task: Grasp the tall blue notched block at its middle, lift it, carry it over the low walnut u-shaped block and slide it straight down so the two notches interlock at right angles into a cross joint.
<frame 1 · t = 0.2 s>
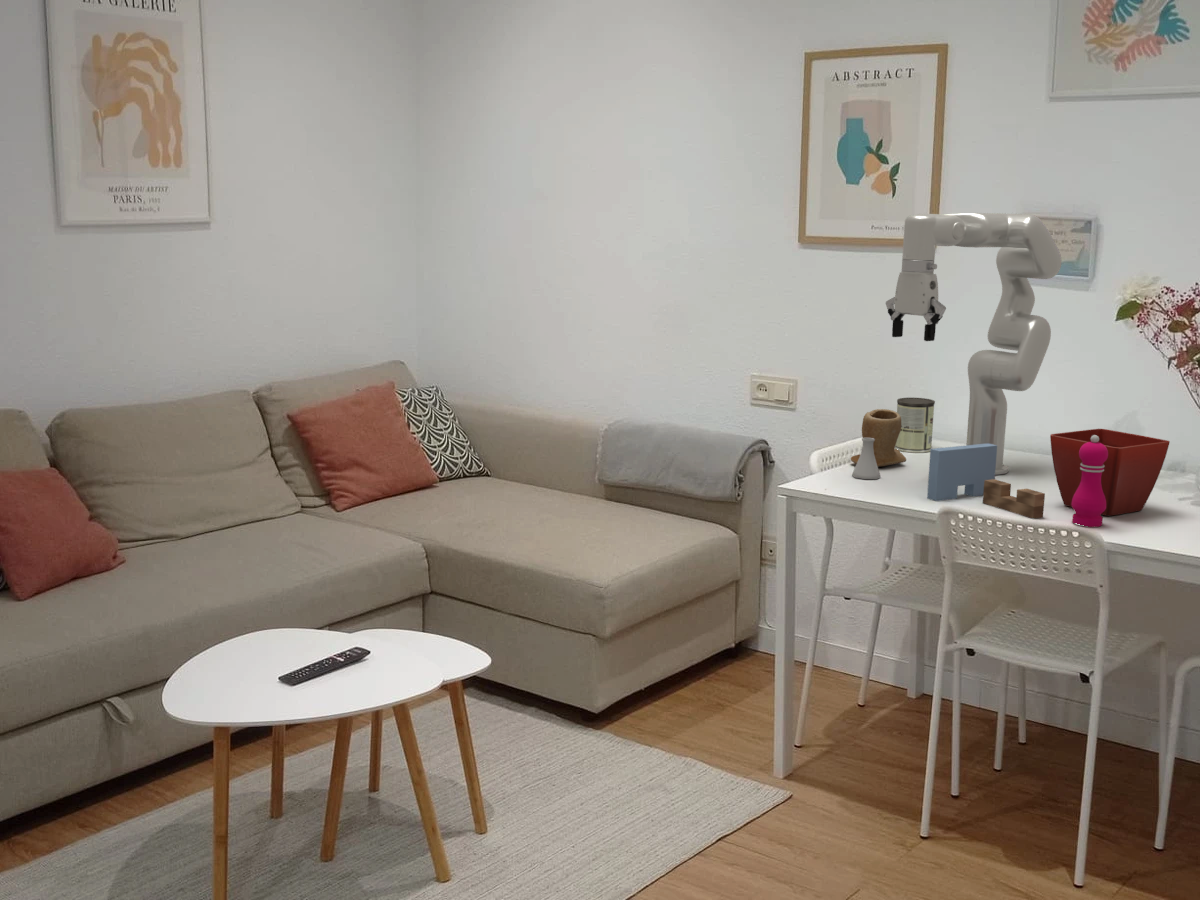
hand: (912, 338, 317), 37 cm above the table, tool pointing down, fingers open, 9 cm apart
pepper mill: (1087, 524, 290), on the table
stone cup: (881, 466, 348), on the table
flask: (866, 478, 334), on the table
plant pot: (1102, 509, 305), on the table
walnut u-shaped block: (1012, 510, 302), on the table
blue notched block: (960, 496, 315), on the table
coffee can: (912, 450, 371), on the table
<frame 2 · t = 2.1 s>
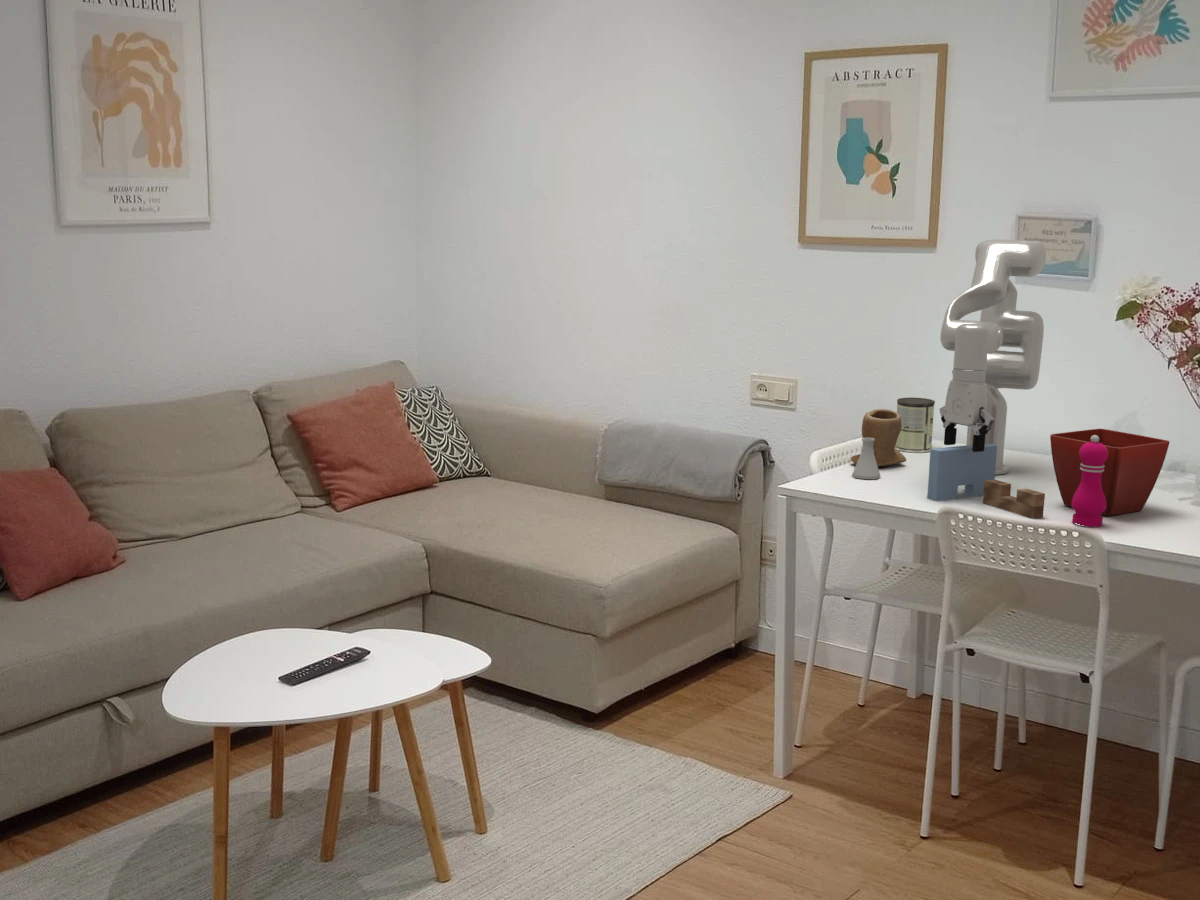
hand: (963, 448, 312), 12 cm above the table, tool pointing down, fingers open, 9 cm apart
nothing on the table moved.
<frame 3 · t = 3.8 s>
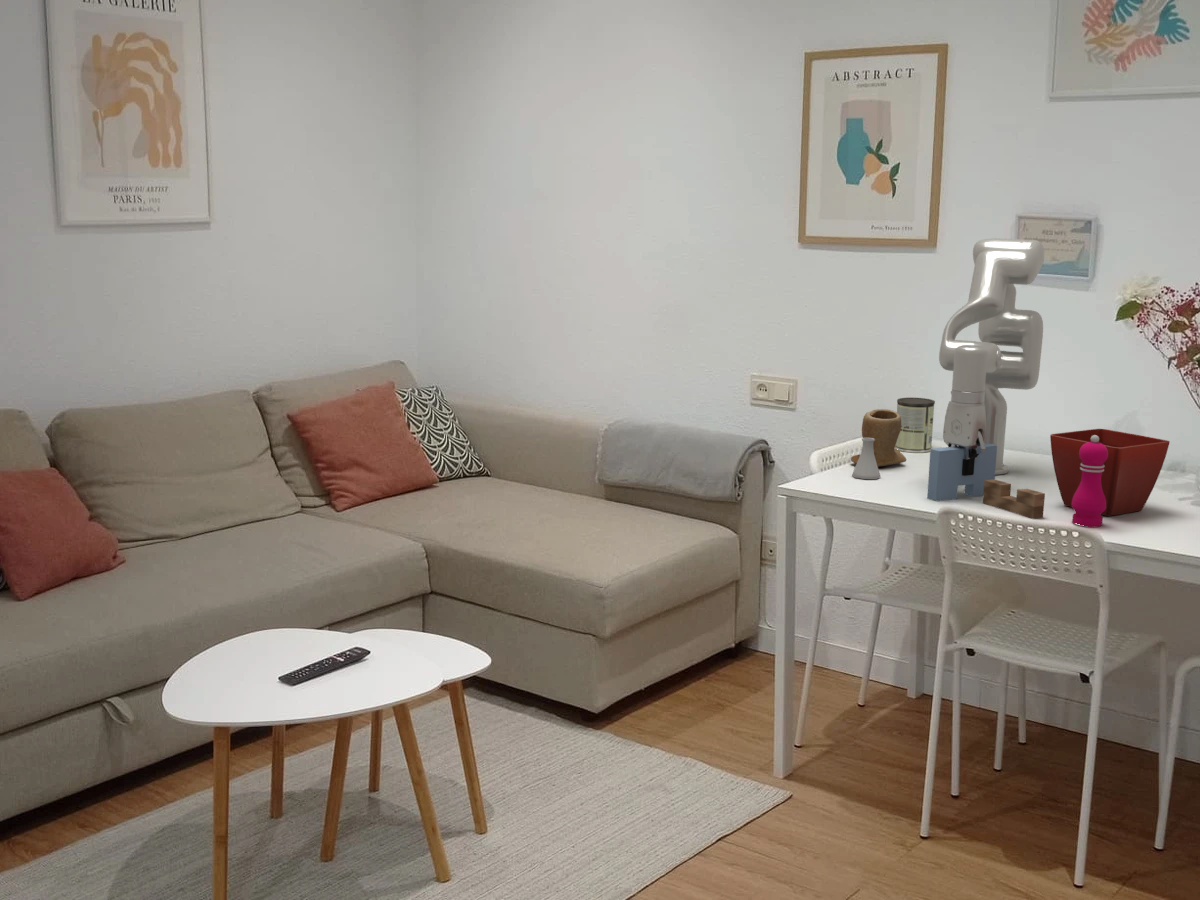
hand: (962, 472, 314), 6 cm above the table, tool pointing down, fingers closed on blue notched block, 3 cm apart
blue notched block: (960, 496, 315), on the table, touching gripper
everything else where it was.
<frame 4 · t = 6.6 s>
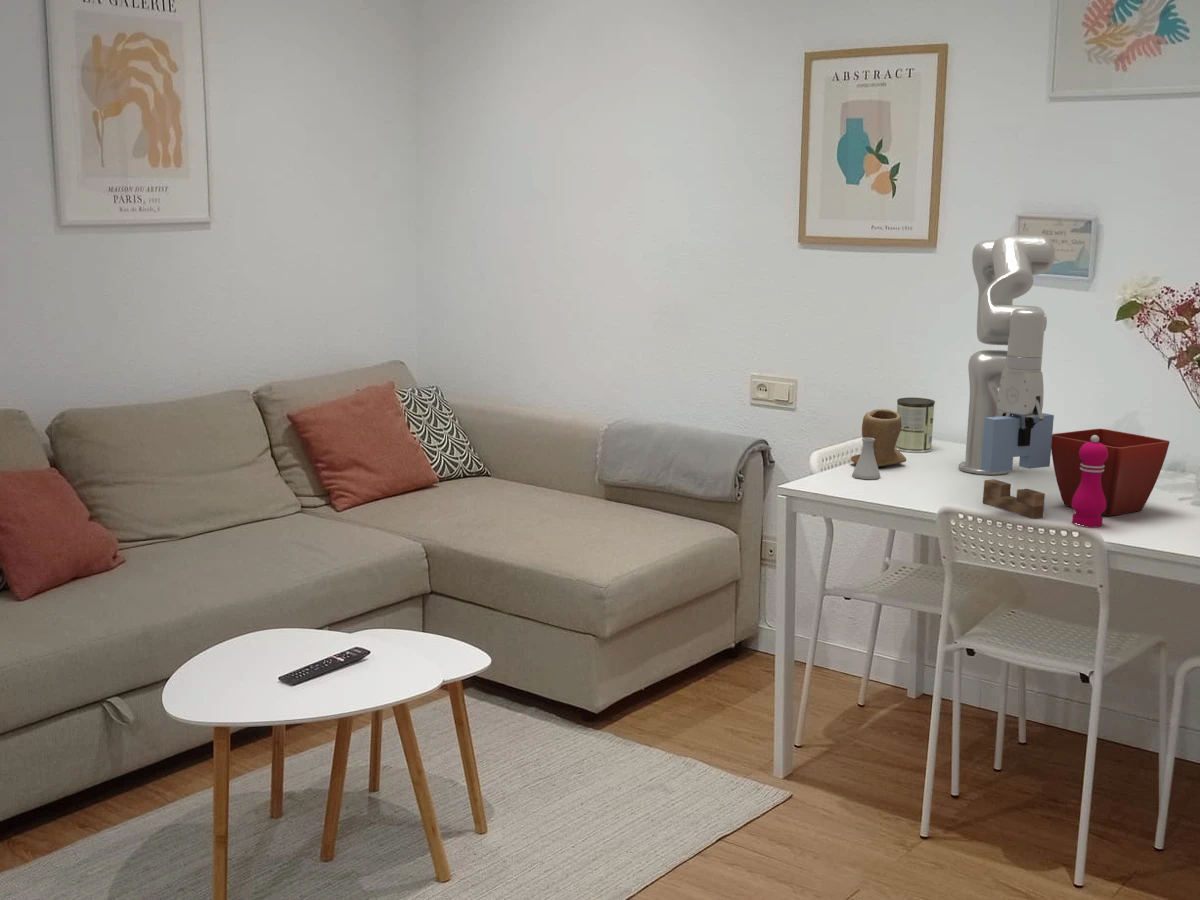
hand: (1017, 443, 298), 16 cm above the table, tool pointing down, fingers closed on blue notched block, 3 cm apart
blue notched block: (1015, 468, 299), point 10 cm above the table, touching gripper
everything else where it was.
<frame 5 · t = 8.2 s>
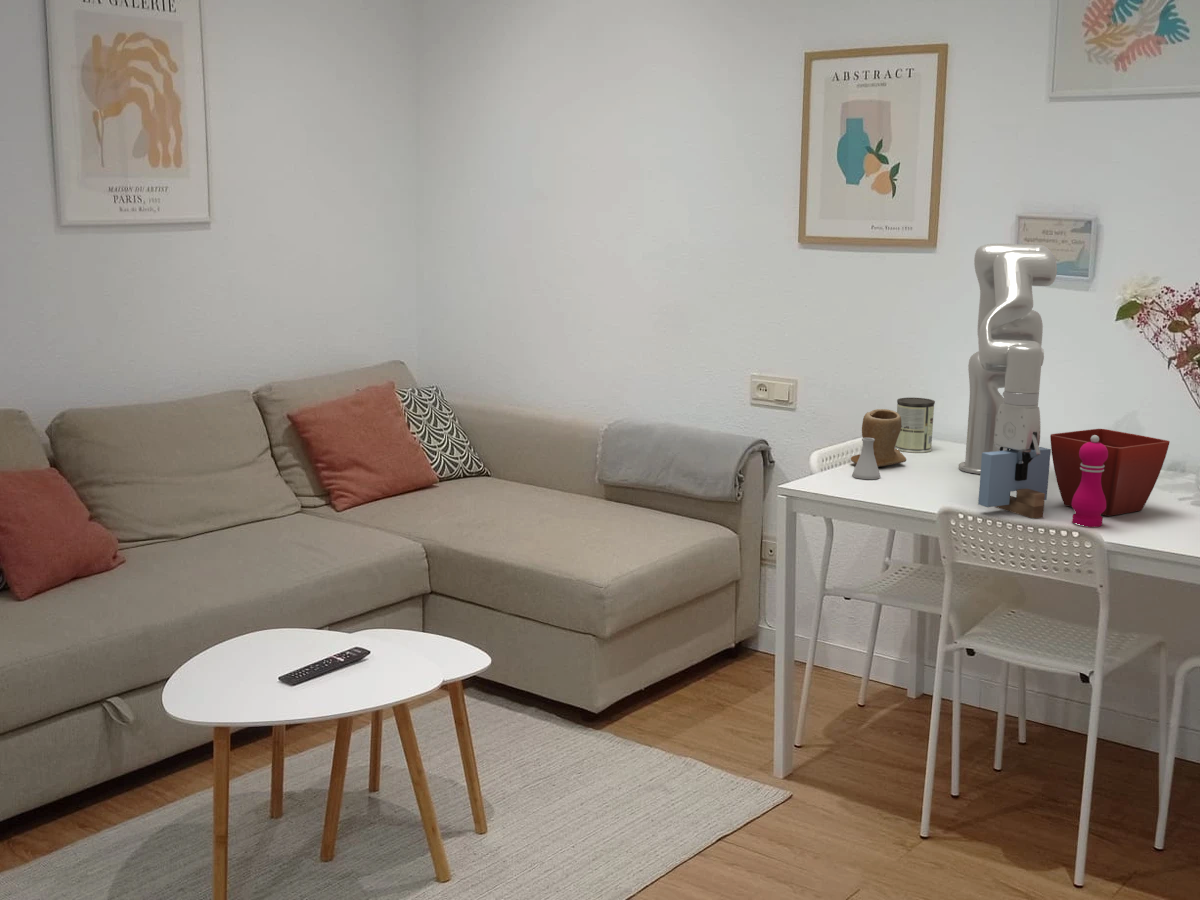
hand: (1014, 477, 300), 8 cm above the table, tool pointing down, fingers closed on blue notched block, 3 cm apart
blue notched block: (1012, 502, 301), point 2 cm above the table, touching gripper
everything else where it was.
when the fingers open (6 cm above the table, at t = 9.4 s): blue notched block stays where it is, on the table.
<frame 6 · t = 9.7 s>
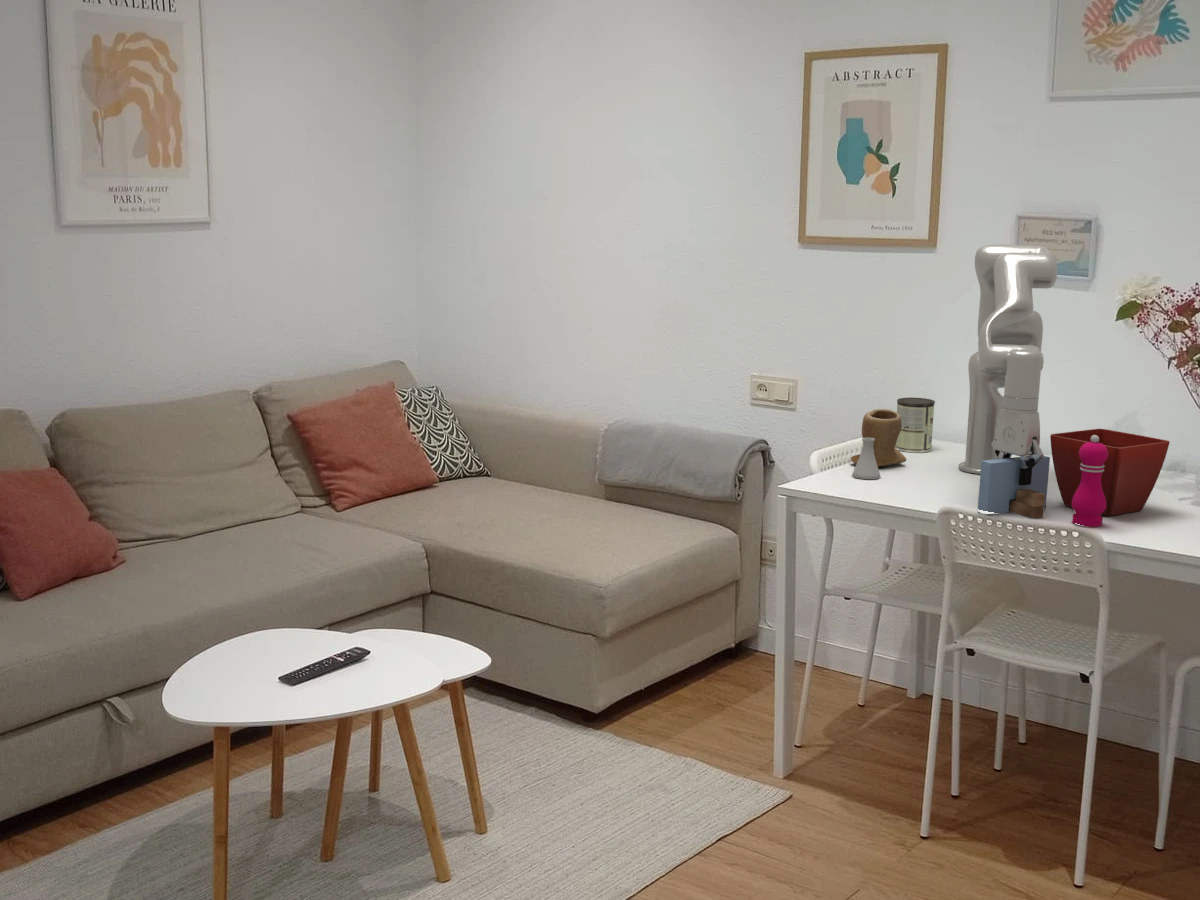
hand: (1014, 481, 300), 7 cm above the table, tool pointing down, fingers open, 5 cm apart
blue notched block: (1011, 510, 302), on the table
everything else where it was.
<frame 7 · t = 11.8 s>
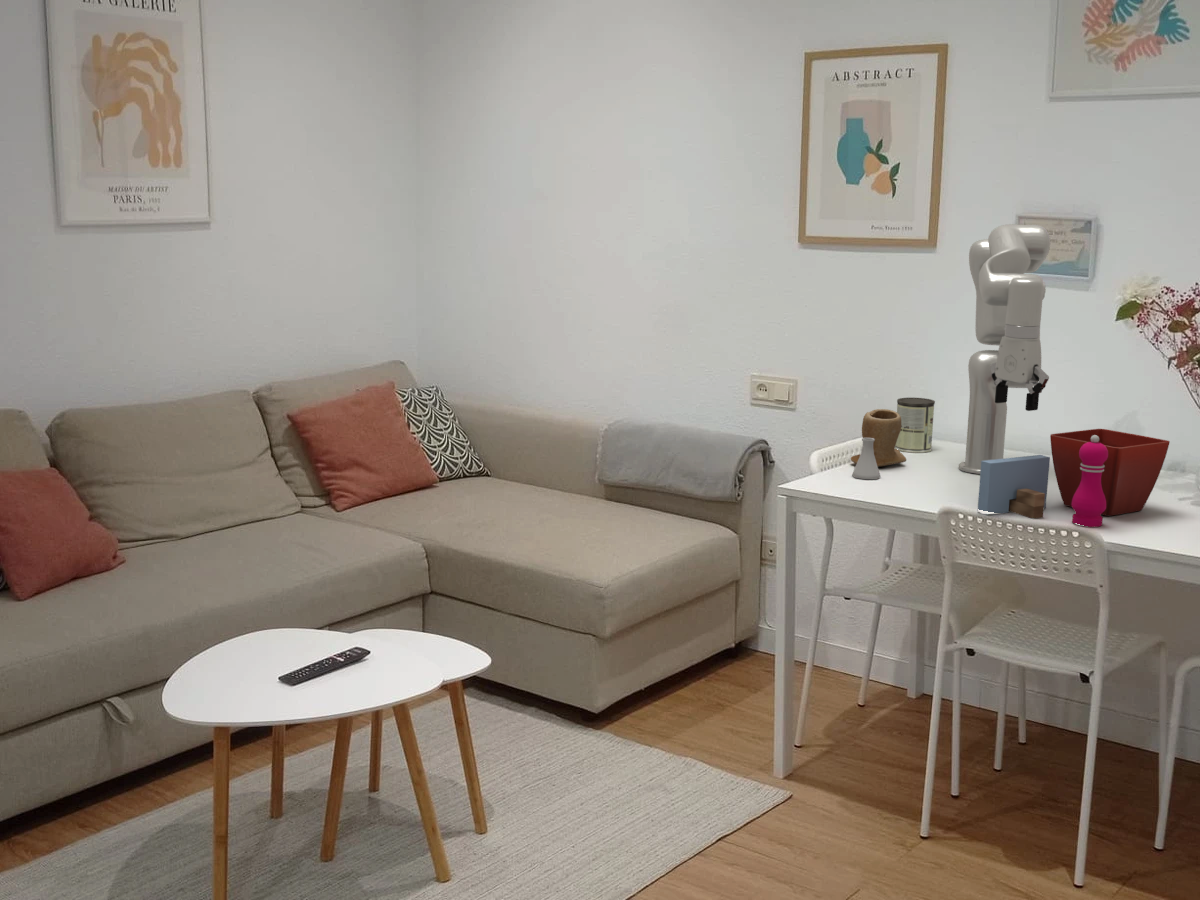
hand: (1015, 406, 302), 23 cm above the table, tool pointing down, fingers open, 9 cm apart
nothing on the table moved.
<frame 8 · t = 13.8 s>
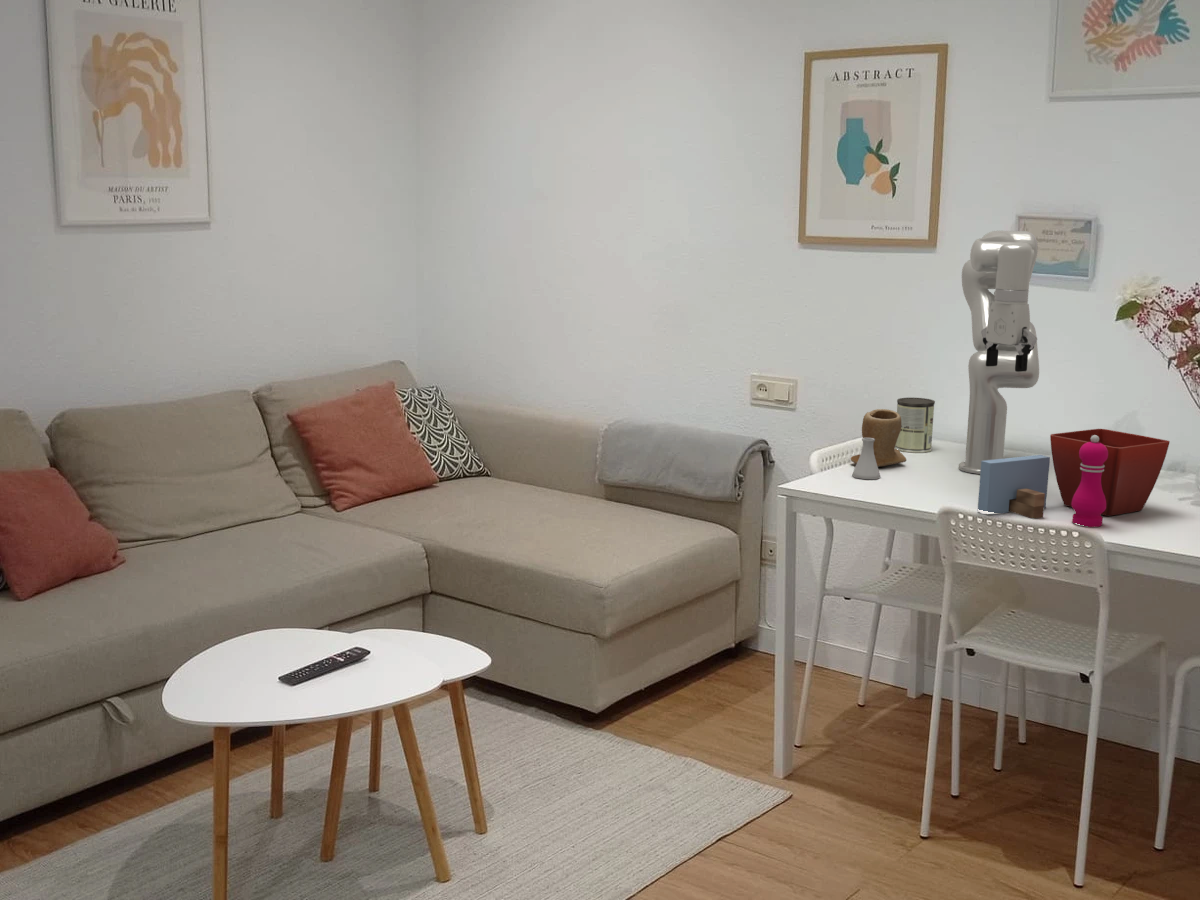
hand: (1005, 368, 314), 30 cm above the table, tool pointing down, fingers open, 9 cm apart
nothing on the table moved.
at the end: blue notched block 0.1 cm off-centre on the walnut u-shaped block, point 0.0 cm above the walnut u-shaped block's base; blue notched block tilted 0°; the gripper is holding nothing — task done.
